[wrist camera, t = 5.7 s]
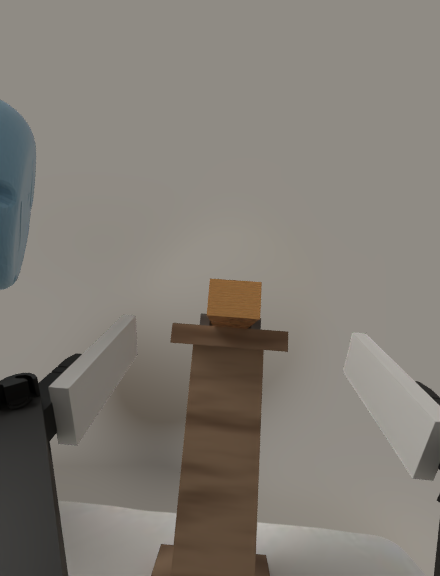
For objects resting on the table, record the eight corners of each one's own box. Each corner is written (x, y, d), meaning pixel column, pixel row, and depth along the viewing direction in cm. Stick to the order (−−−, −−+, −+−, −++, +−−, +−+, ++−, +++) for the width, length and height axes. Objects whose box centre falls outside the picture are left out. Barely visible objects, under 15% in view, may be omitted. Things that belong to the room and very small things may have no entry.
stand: (293, 723, 20) (298, 320, 27) (116, 700, 20) (164, 310, 27) (265, 568, 33) (272, 328, 40) (159, 557, 34) (184, 322, 41)
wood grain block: (259, 319, 17) (261, 282, 17) (206, 315, 17) (210, 278, 17) (239, 334, 40) (240, 318, 41) (216, 332, 40) (218, 316, 41)
